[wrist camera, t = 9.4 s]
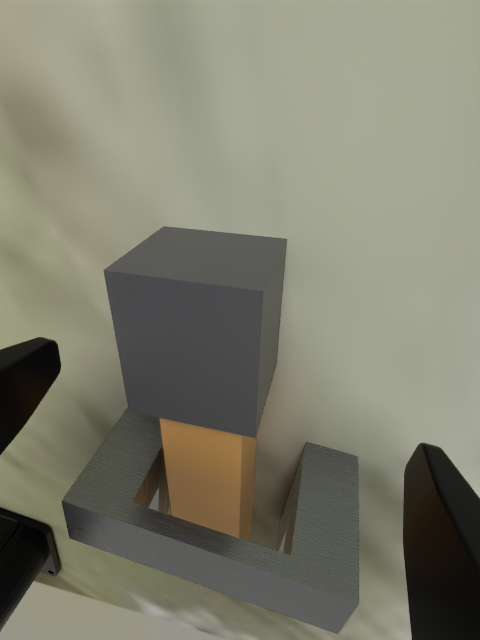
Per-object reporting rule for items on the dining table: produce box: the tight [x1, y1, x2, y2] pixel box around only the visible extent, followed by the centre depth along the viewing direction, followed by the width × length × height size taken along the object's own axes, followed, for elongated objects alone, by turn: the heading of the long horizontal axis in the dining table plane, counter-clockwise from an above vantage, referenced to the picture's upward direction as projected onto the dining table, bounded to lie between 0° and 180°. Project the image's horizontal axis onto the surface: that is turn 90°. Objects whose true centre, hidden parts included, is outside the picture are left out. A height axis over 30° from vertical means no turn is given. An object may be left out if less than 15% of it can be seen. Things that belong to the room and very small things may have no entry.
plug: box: [104, 227, 287, 541], centre depth 15 cm, size 16×4×4 cm, turn 179°
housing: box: [62, 407, 359, 634], centre depth 16 cm, size 6×10×6 cm, turn 82°
